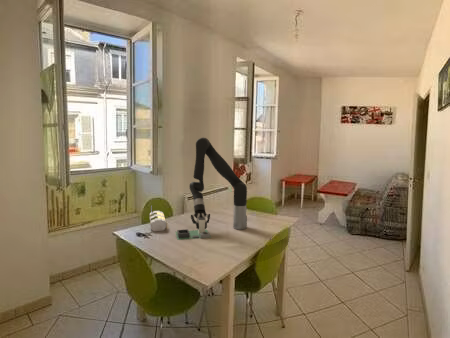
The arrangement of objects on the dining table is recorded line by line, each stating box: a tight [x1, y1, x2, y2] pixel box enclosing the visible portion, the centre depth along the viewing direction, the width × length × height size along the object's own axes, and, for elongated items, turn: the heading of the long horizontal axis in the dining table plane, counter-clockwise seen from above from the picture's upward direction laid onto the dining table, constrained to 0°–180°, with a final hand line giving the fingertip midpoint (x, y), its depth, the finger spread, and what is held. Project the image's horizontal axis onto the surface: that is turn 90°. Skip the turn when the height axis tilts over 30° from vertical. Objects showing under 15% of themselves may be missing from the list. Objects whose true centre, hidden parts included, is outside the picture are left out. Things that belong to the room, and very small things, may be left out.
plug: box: [197, 217, 206, 235], centre depth 212 cm, size 4×4×11 cm
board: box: [174, 229, 212, 241], centre depth 210 cm, size 22×16×4 cm
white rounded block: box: [149, 205, 167, 232], centre depth 232 cm, size 25×10×13 cm, turn 15°
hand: (202, 228), depth 210 cm, fingers open, 4 cm apart
